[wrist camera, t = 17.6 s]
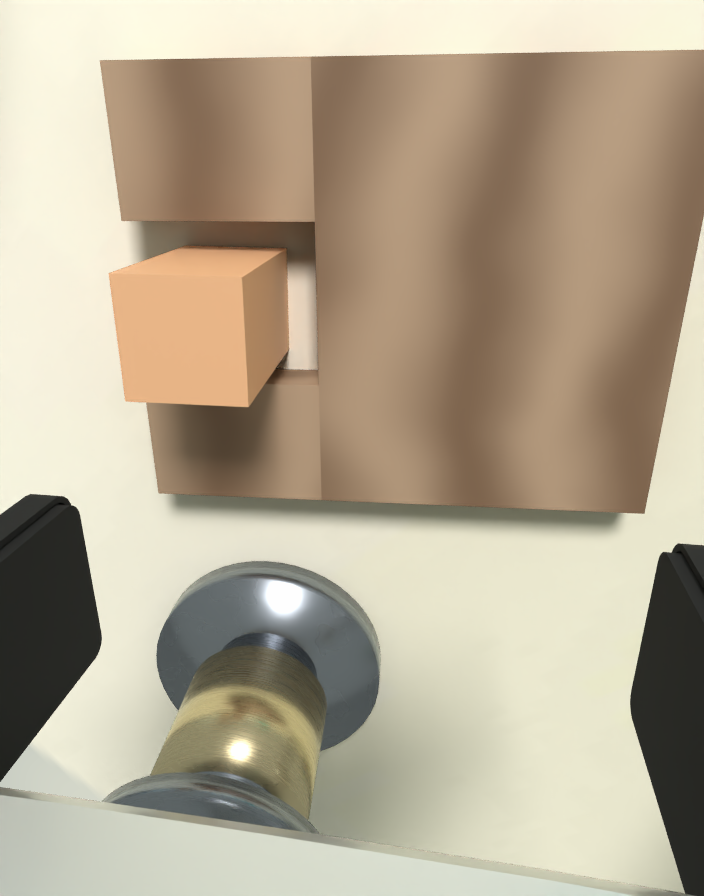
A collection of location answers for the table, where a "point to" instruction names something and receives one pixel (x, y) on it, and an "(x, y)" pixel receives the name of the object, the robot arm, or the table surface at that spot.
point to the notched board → (437, 265)
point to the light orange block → (201, 324)
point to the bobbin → (257, 694)
